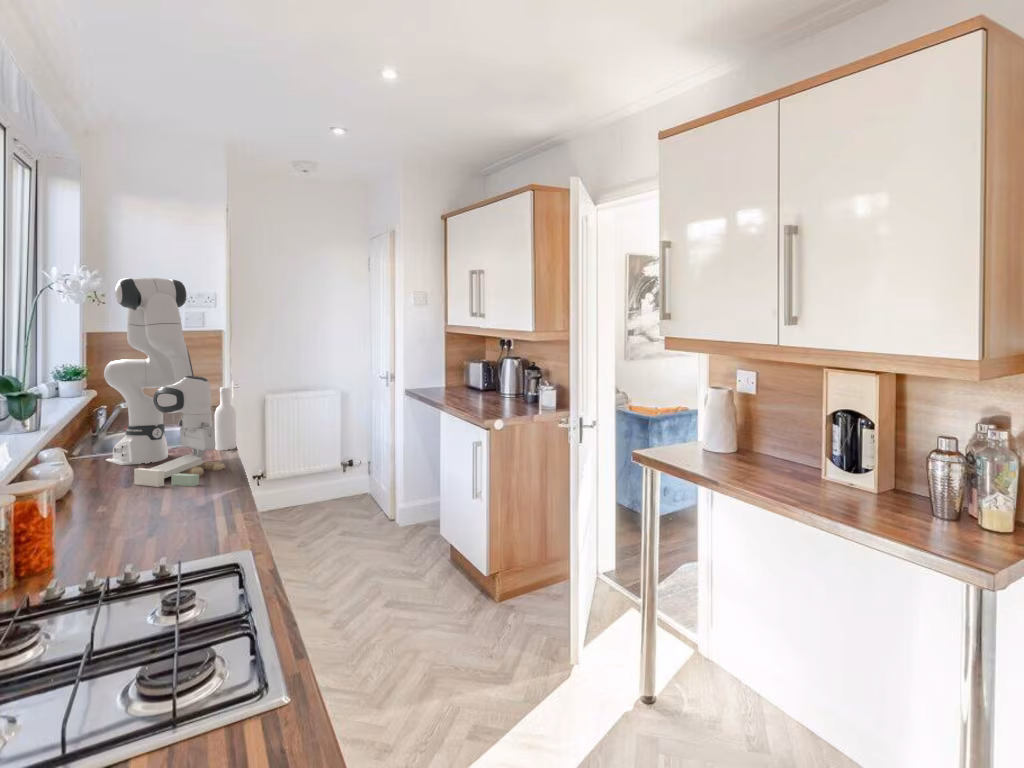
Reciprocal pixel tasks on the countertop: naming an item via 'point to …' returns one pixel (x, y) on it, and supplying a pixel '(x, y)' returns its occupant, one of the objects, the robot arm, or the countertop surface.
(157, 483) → the block
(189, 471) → the rail
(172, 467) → the stone slab
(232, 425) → the bottle
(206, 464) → the rail
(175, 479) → the block
